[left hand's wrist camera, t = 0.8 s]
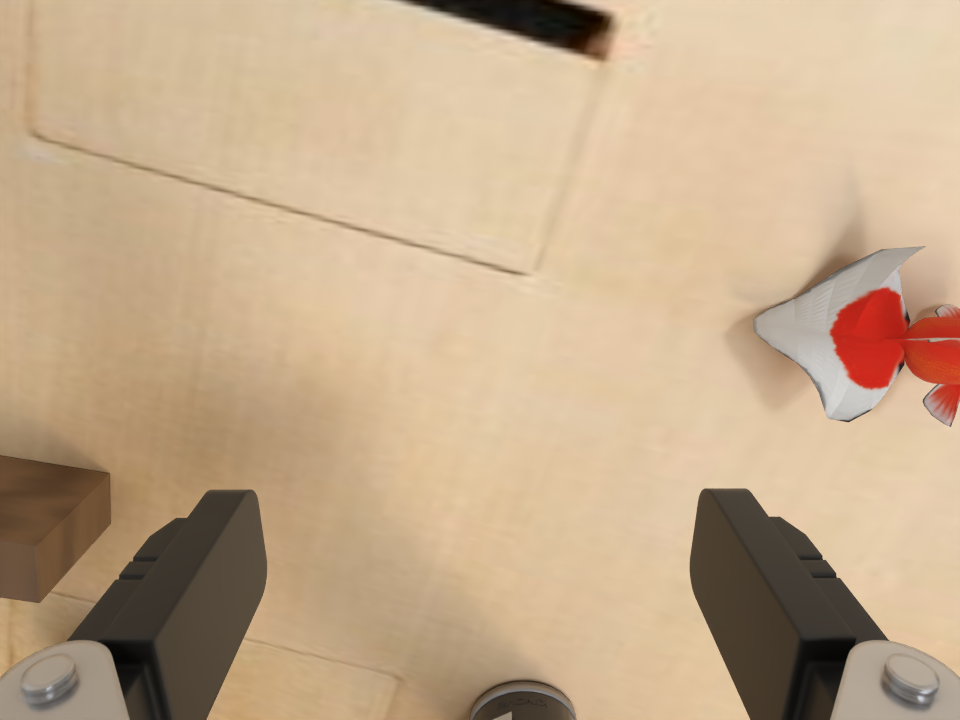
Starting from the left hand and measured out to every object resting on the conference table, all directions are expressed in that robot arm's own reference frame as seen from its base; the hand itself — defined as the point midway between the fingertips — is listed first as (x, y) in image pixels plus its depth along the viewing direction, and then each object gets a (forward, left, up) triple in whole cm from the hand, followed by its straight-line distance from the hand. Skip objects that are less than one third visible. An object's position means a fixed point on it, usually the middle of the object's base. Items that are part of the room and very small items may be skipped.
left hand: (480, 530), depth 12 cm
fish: (-8, -25, -31) cm, 41 cm away
